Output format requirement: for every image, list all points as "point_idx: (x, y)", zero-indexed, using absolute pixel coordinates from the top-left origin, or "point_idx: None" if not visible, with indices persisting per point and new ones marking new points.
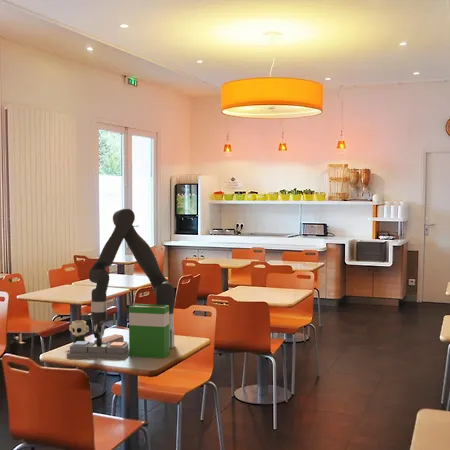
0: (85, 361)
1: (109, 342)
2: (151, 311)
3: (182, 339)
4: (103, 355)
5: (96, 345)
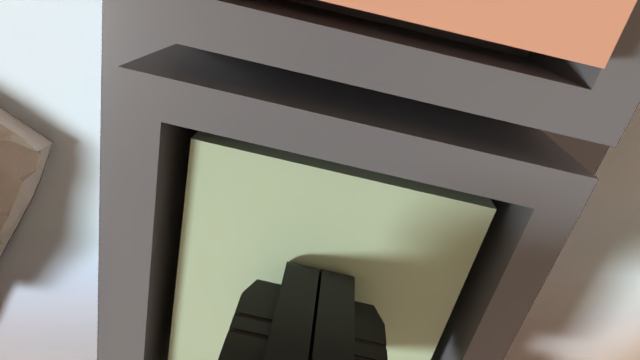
0: (636, 353)
1: None
2: None
3: None
4: (594, 150)
5: None
